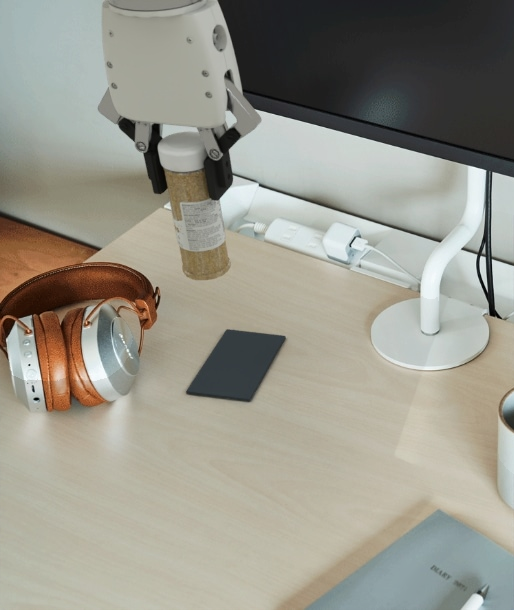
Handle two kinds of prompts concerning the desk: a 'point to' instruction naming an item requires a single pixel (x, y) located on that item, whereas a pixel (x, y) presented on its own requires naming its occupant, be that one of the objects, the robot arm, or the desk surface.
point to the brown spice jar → (194, 207)
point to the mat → (236, 365)
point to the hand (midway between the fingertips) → (192, 188)
